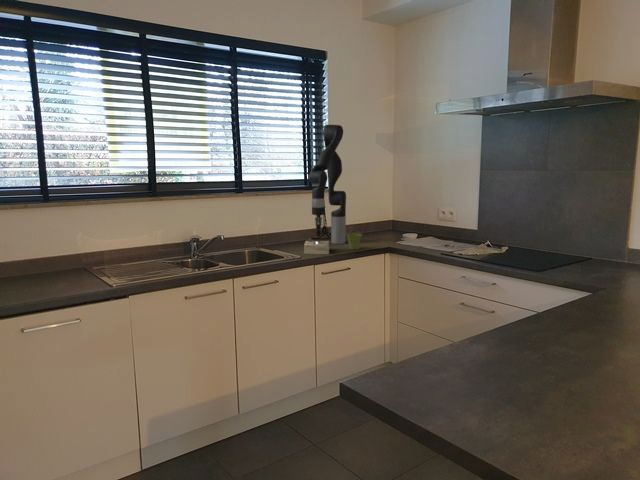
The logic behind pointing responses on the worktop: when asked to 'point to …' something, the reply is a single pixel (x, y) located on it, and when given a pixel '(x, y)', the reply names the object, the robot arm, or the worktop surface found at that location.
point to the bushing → (318, 242)
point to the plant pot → (354, 240)
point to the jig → (316, 247)
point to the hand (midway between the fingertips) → (318, 236)
